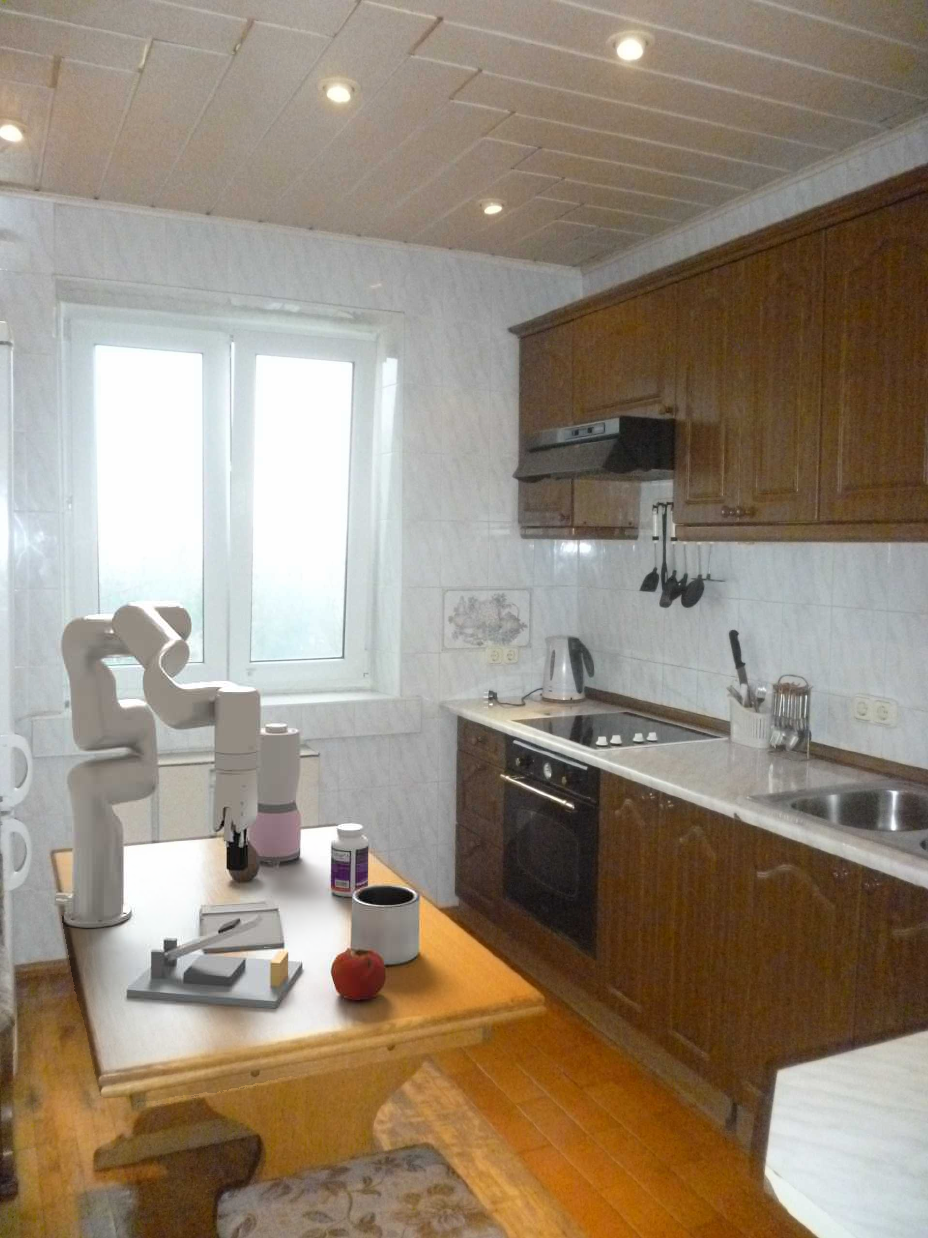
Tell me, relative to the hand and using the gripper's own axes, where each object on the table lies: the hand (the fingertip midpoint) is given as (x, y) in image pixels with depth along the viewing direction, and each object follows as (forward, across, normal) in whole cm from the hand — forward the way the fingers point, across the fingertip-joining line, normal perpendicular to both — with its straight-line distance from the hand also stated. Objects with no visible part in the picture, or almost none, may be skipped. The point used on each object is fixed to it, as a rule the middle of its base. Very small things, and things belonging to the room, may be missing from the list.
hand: (237, 868), depth 174 cm
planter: (+20, -17, +22) cm, 34 cm away
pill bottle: (+20, -49, +8) cm, 53 cm away
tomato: (+20, +1, +21) cm, 29 cm away
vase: (+19, -53, -16) cm, 58 cm away
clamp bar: (+13, 0, -5) cm, 14 cm away
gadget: (+20, -25, -8) cm, 33 cm away
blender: (+19, -70, -13) cm, 74 cm away
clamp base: (+20, 0, -3) cm, 20 cm away
